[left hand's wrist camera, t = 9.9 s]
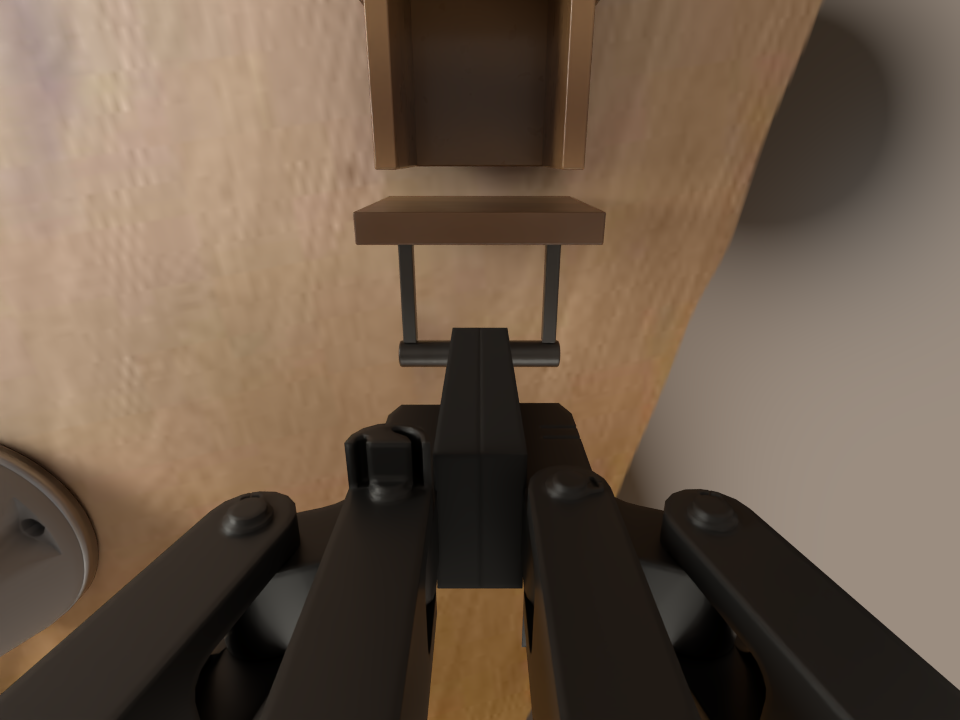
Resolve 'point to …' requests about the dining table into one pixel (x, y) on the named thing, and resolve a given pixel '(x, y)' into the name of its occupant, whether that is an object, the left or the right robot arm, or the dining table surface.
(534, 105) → the drawer
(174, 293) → the dining table surface
